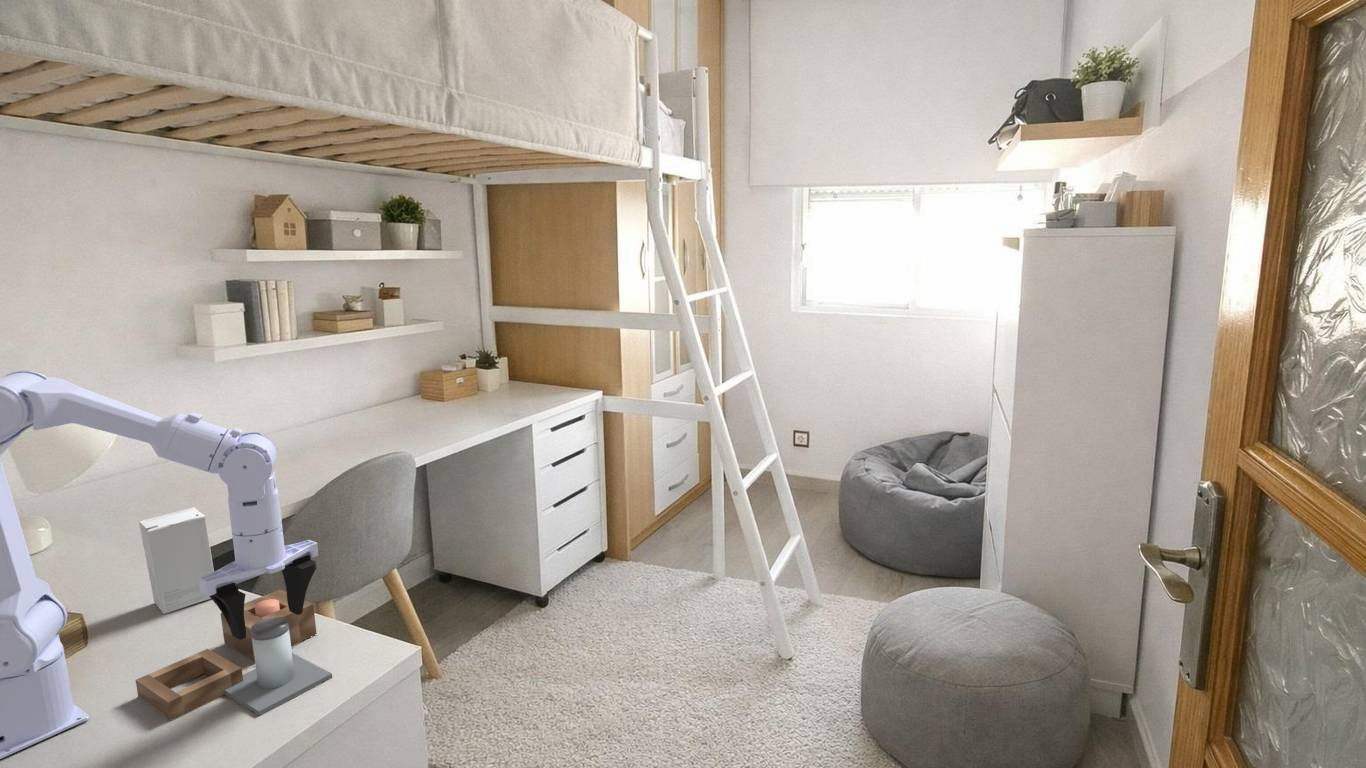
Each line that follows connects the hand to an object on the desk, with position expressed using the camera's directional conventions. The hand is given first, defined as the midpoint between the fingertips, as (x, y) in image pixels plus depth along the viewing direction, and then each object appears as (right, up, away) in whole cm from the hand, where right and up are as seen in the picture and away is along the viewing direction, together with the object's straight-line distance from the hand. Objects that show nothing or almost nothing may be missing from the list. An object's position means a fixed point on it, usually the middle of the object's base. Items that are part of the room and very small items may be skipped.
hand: (268, 624), depth 102 cm
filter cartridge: (0, -8, +2) cm, 8 cm away
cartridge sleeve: (-10, -9, 0) cm, 14 cm away
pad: (0, -9, +2) cm, 9 cm away
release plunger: (-7, -6, +13) cm, 16 cm away
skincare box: (-27, -4, +25) cm, 37 cm away
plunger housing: (-7, -6, +13) cm, 16 cm away
